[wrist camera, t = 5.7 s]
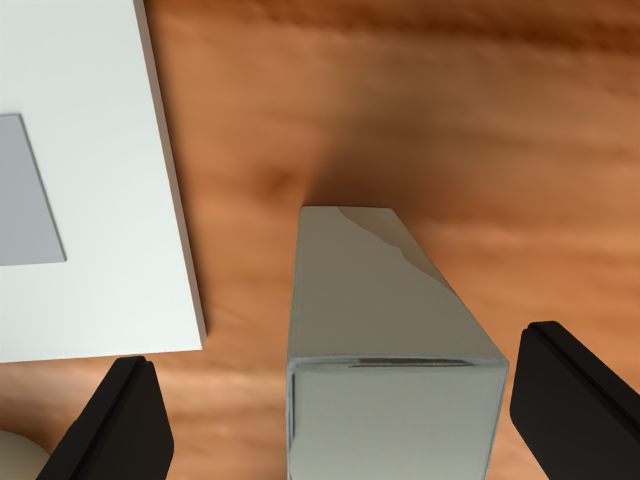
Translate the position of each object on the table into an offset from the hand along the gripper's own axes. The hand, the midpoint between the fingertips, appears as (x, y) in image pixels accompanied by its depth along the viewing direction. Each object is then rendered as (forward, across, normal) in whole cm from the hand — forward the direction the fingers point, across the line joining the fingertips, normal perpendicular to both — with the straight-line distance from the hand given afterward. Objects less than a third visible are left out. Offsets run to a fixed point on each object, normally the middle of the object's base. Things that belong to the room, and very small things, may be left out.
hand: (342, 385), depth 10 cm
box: (+9, -1, 0) cm, 9 cm away
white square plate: (+9, +14, -4) cm, 17 cm away
